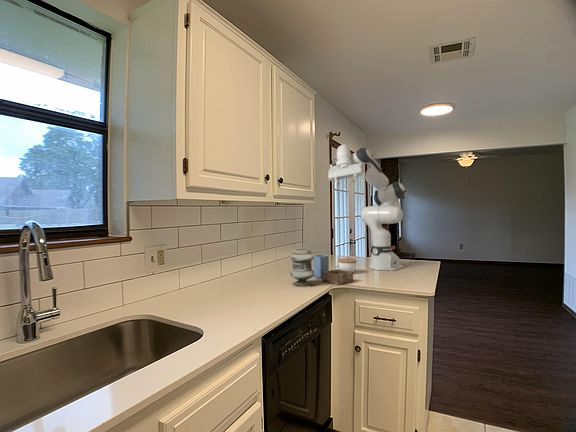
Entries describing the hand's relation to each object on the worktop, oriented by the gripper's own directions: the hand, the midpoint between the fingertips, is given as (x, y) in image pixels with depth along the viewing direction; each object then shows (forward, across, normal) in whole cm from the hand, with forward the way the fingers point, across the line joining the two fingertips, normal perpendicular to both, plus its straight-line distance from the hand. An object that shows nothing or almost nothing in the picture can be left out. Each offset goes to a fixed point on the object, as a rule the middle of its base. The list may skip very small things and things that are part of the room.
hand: (345, 183), depth 195 cm
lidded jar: (+45, +7, -27) cm, 53 cm away
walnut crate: (+58, +9, -8) cm, 59 cm away
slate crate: (+52, +19, -14) cm, 58 cm away
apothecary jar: (+62, +26, +2) cm, 67 cm away
